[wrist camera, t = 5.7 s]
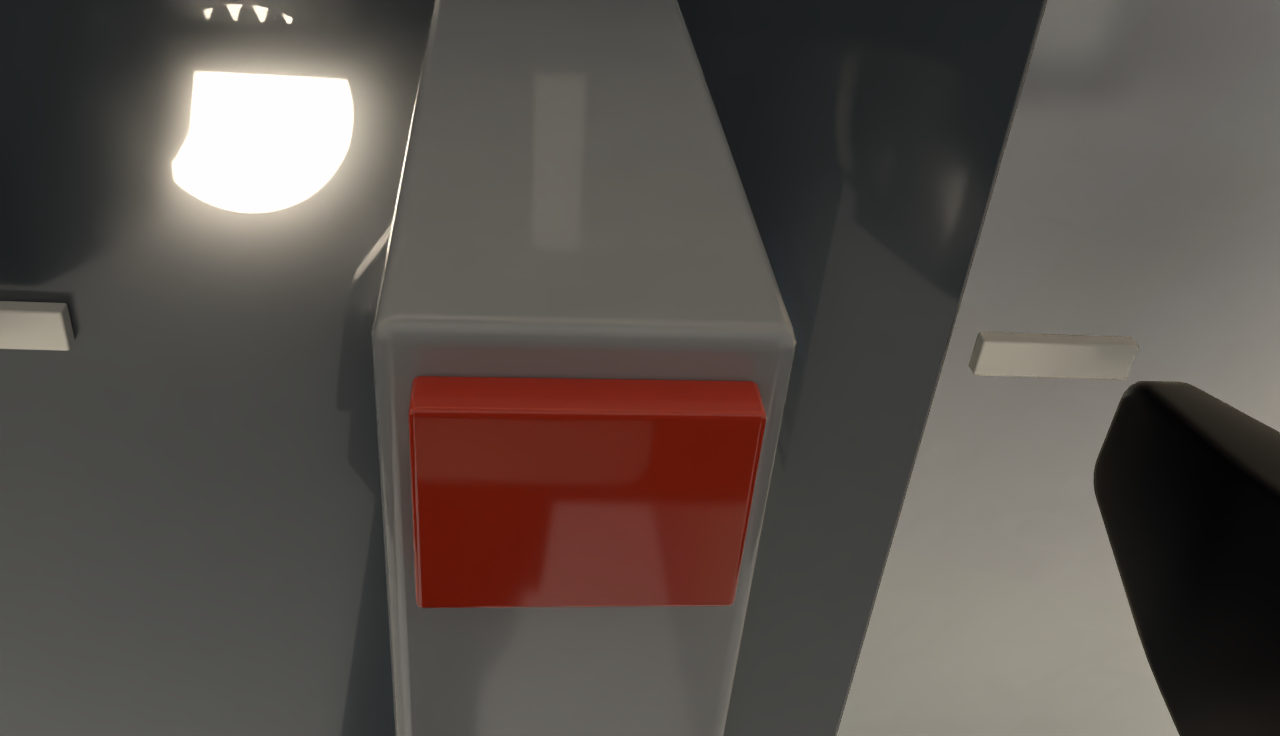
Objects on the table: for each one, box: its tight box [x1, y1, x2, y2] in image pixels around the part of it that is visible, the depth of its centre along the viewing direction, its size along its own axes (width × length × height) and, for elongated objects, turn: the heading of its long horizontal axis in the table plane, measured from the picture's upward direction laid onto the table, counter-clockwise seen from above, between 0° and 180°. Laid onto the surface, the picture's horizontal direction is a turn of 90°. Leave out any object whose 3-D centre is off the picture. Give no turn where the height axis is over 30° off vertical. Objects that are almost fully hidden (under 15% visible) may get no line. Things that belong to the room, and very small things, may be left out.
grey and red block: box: [372, 0, 797, 736], centre depth 8 cm, size 6×2×5 cm, turn 176°
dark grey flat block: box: [0, 0, 1139, 736], centre depth 11 cm, size 14×13×3 cm
